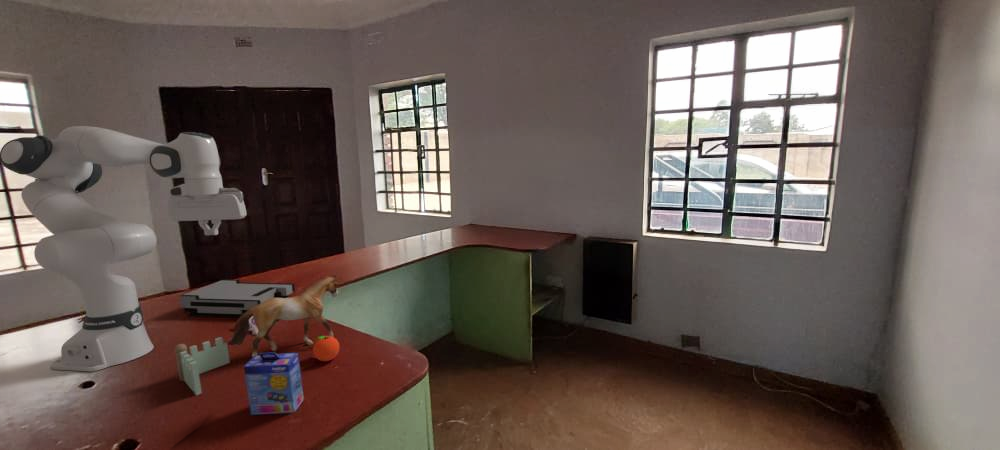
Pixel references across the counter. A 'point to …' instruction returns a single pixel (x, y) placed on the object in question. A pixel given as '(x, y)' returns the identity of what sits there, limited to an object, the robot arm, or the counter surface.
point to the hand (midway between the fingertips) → (211, 234)
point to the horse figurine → (286, 312)
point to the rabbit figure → (253, 326)
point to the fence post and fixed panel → (204, 356)
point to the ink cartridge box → (274, 383)
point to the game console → (231, 297)
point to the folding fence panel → (190, 372)
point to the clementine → (326, 348)
